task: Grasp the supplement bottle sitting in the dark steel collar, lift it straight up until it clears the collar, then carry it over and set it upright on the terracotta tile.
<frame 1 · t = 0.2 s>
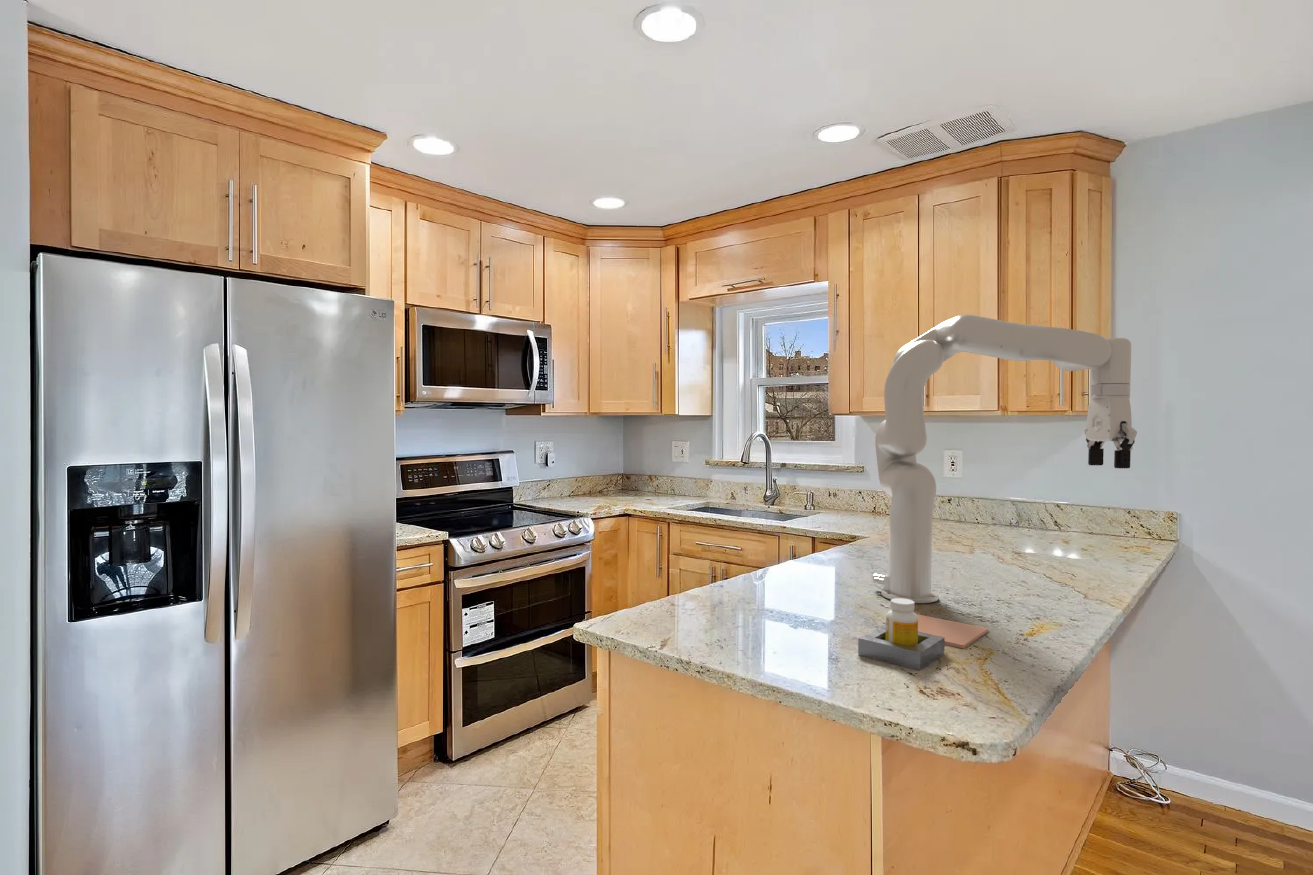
hand: (1108, 466, 159), 31 cm above the counter, tool pointing down, fingers open, 9 cm apart
supplement bottle: (901, 655, 122), resting in collar
collar: (901, 654, 122), on the counter
tile: (939, 631, 135), on the counter
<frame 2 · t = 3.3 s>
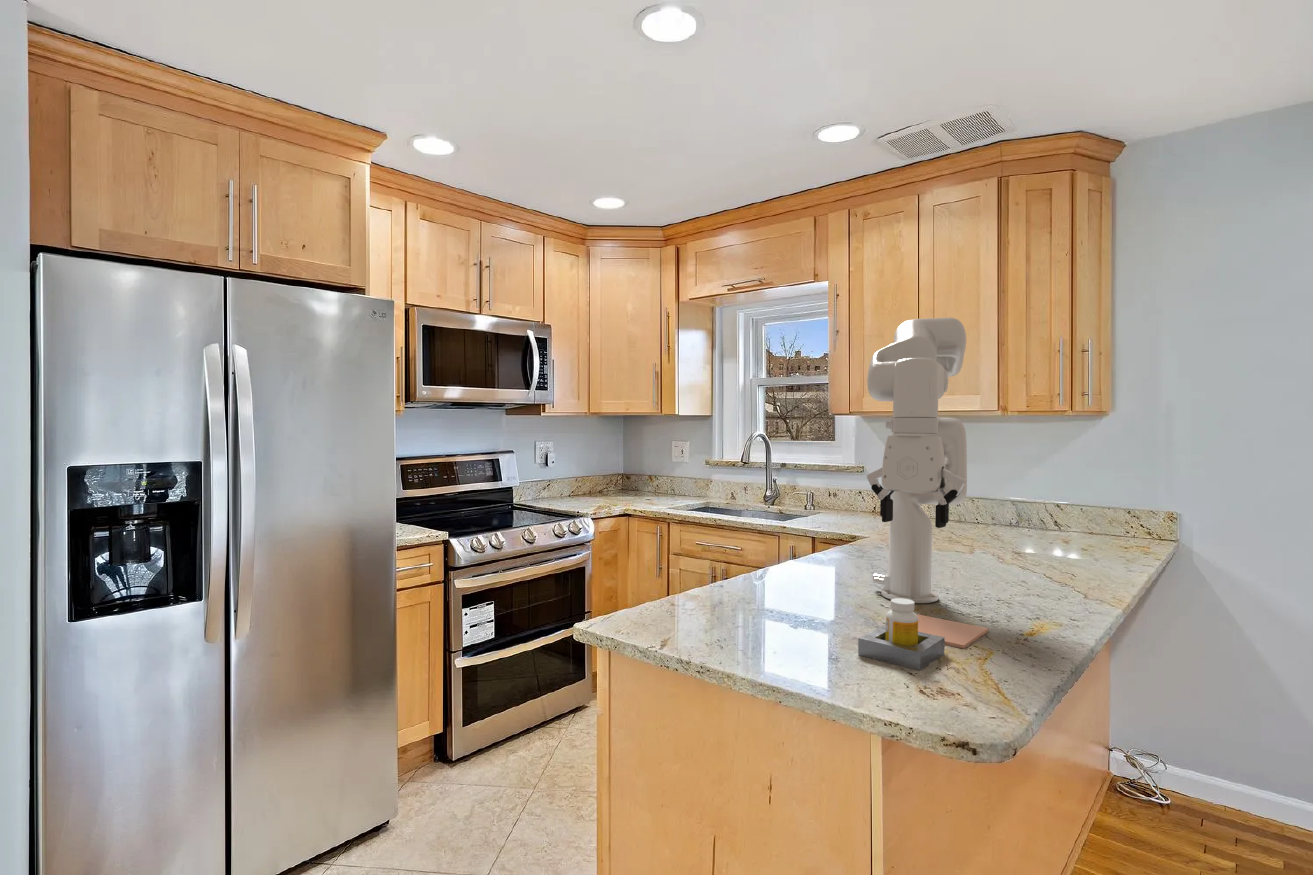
hand: (913, 524, 123), 23 cm above the counter, tool pointing down, fingers open, 9 cm apart
nothing on the counter moved.
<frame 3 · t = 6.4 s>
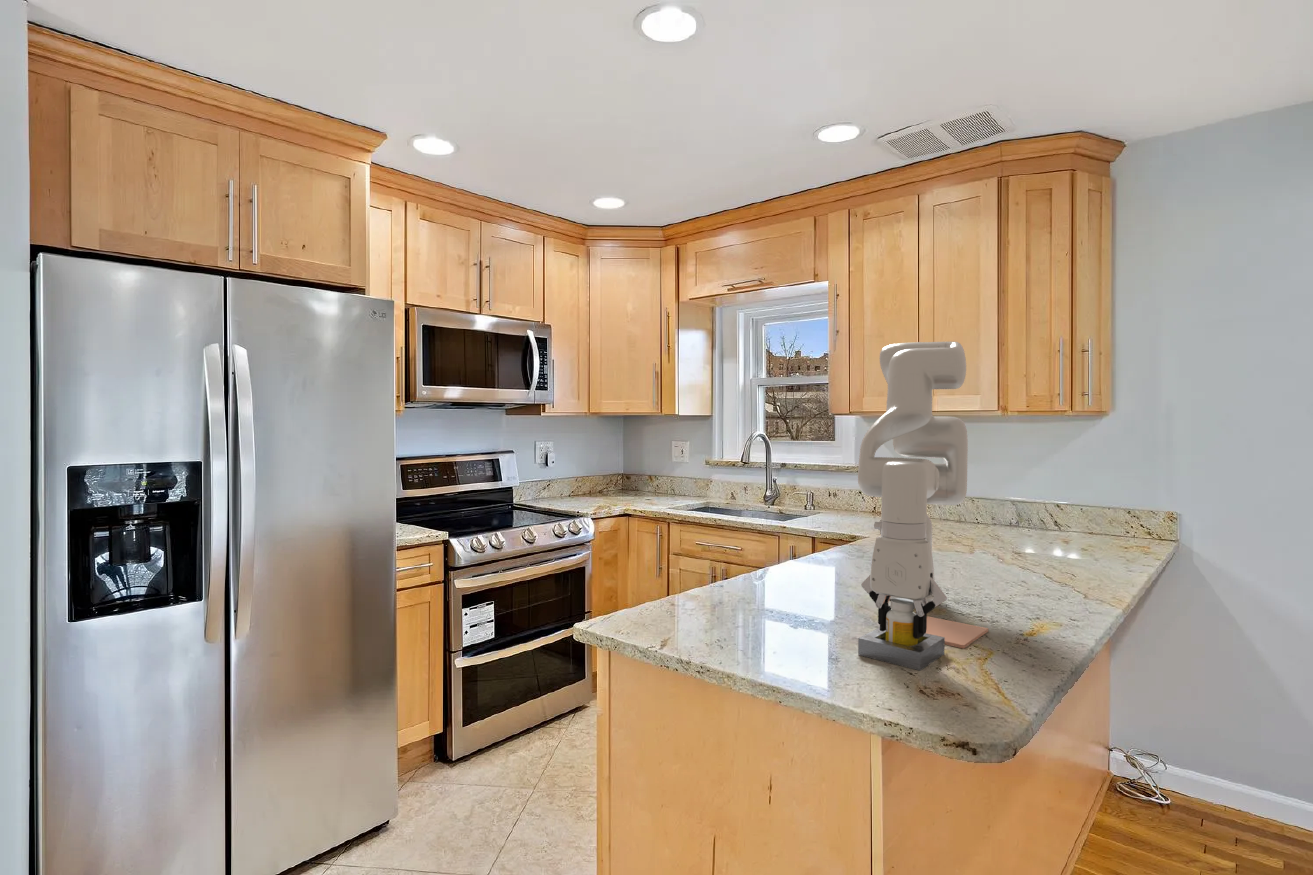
hand: (901, 632, 122), 4 cm above the counter, tool pointing down, fingers closed on supplement bottle, 5 cm apart
supplement bottle: (901, 655, 122), resting in collar, touching gripper
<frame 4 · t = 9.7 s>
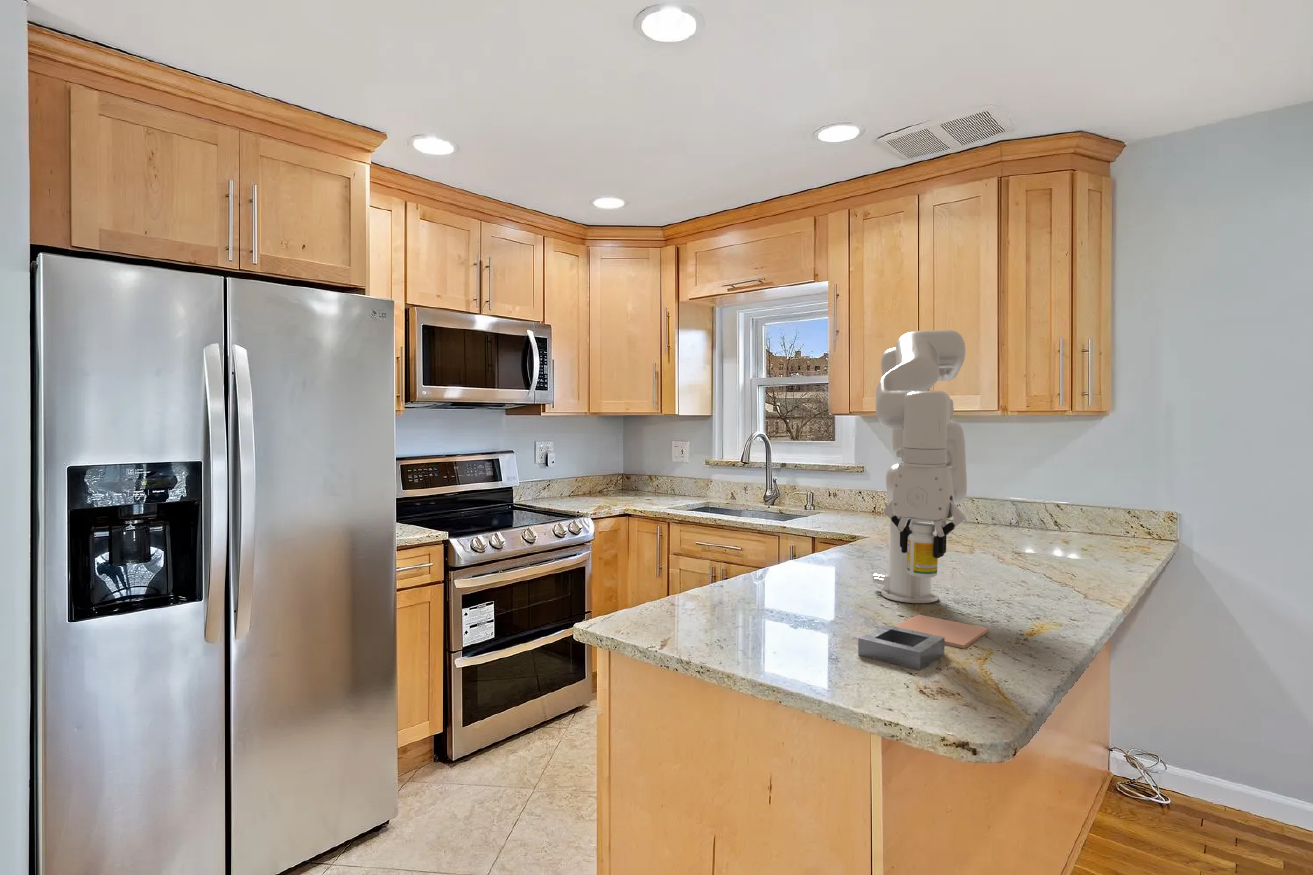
hand: (922, 553, 129), 17 cm above the counter, tool pointing down, fingers closed on supplement bottle, 5 cm apart
supplement bottle: (921, 575, 129), point 12 cm above the counter, touching gripper
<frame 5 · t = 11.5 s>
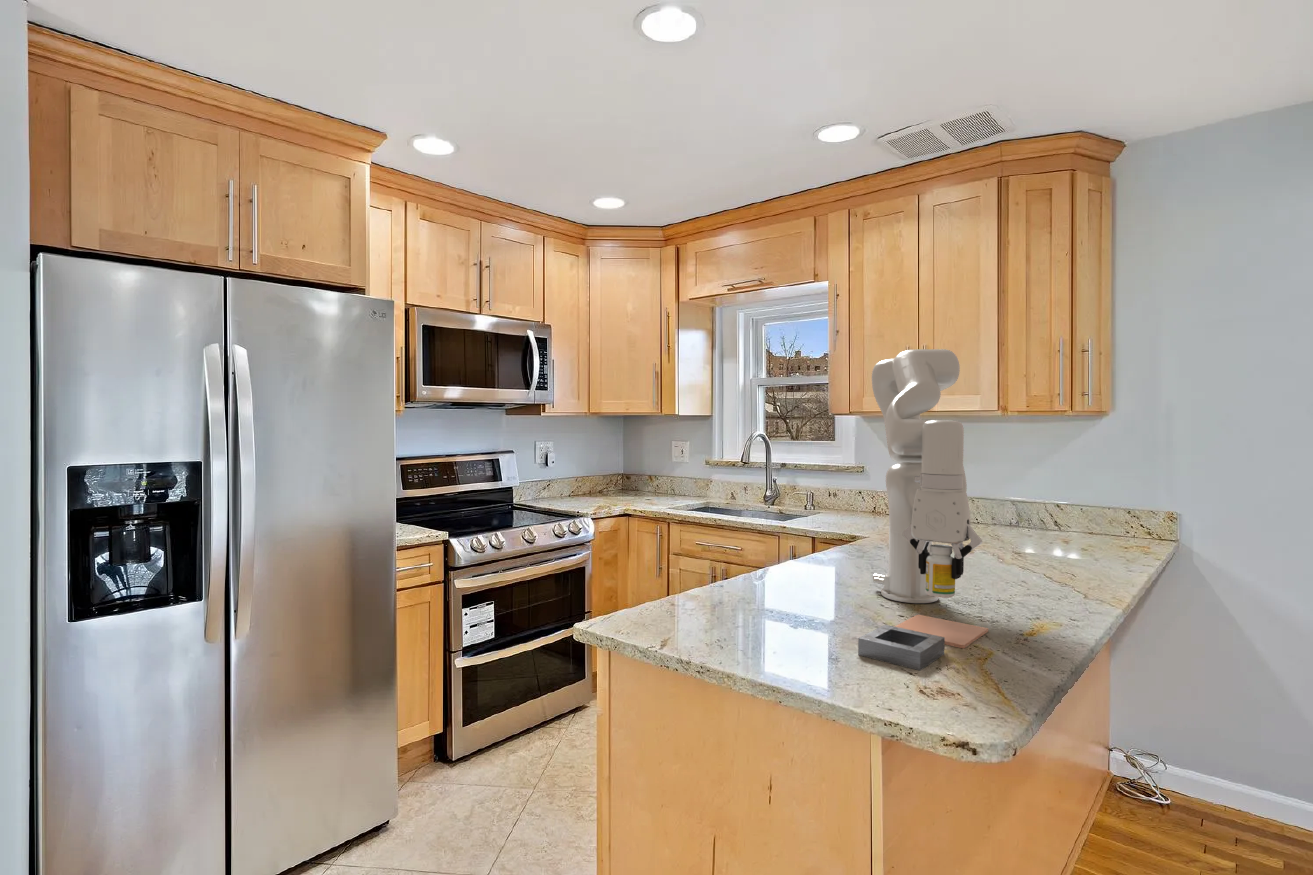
hand: (940, 574, 135), 11 cm above the counter, tool pointing down, fingers closed on supplement bottle, 5 cm apart
supplement bottle: (940, 595, 135), point 7 cm above the counter, touching gripper
when the fingers open (6 cm above the counter, at t = 12.9 s): supplement bottle drops 1 cm, resting on tile.
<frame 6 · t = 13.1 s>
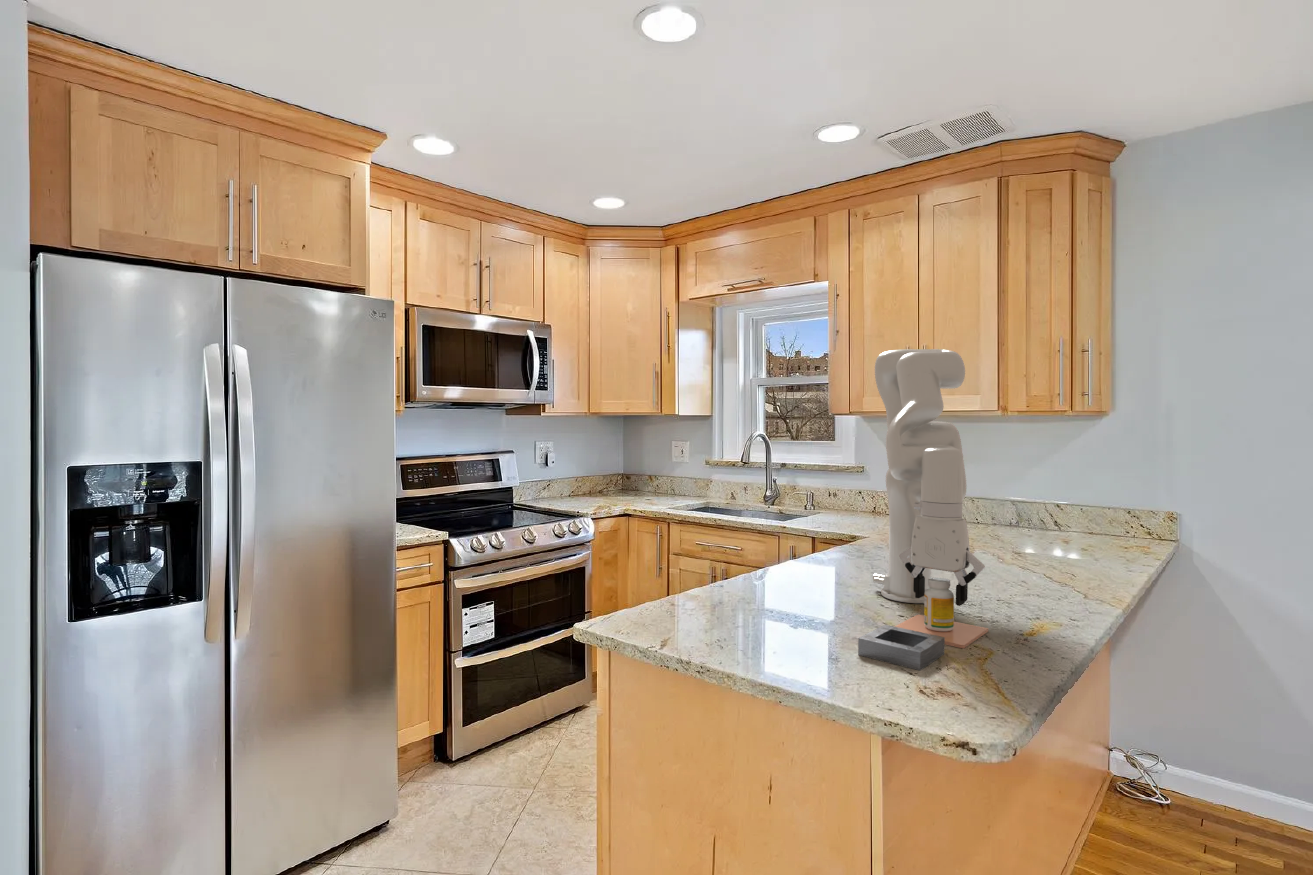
hand: (939, 599, 135), 6 cm above the counter, tool pointing down, fingers open, 7 cm apart
supplement bottle: (939, 629, 136), resting on tile
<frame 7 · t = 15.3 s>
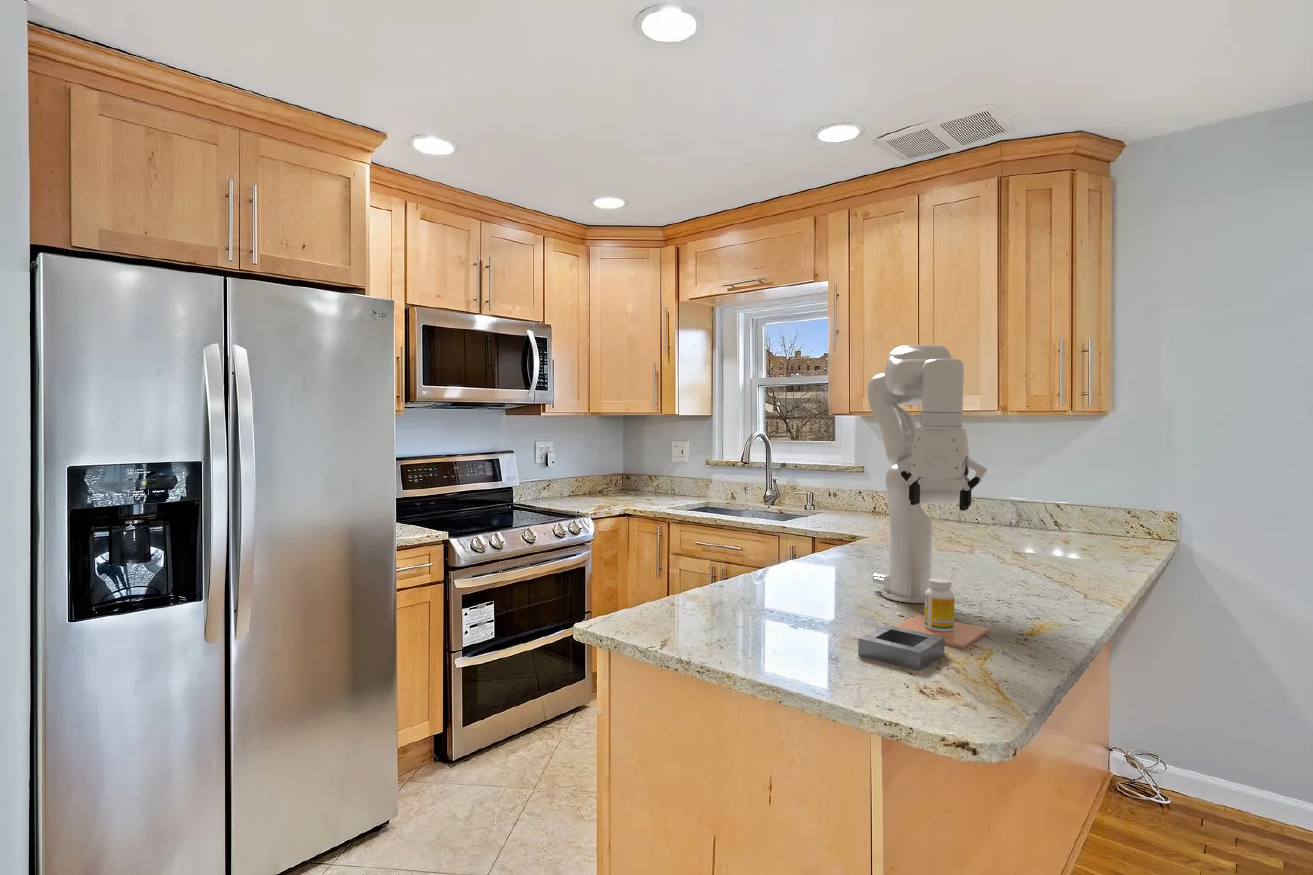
hand: (938, 506, 138), 24 cm above the counter, tool pointing down, fingers open, 9 cm apart
nothing on the counter moved.
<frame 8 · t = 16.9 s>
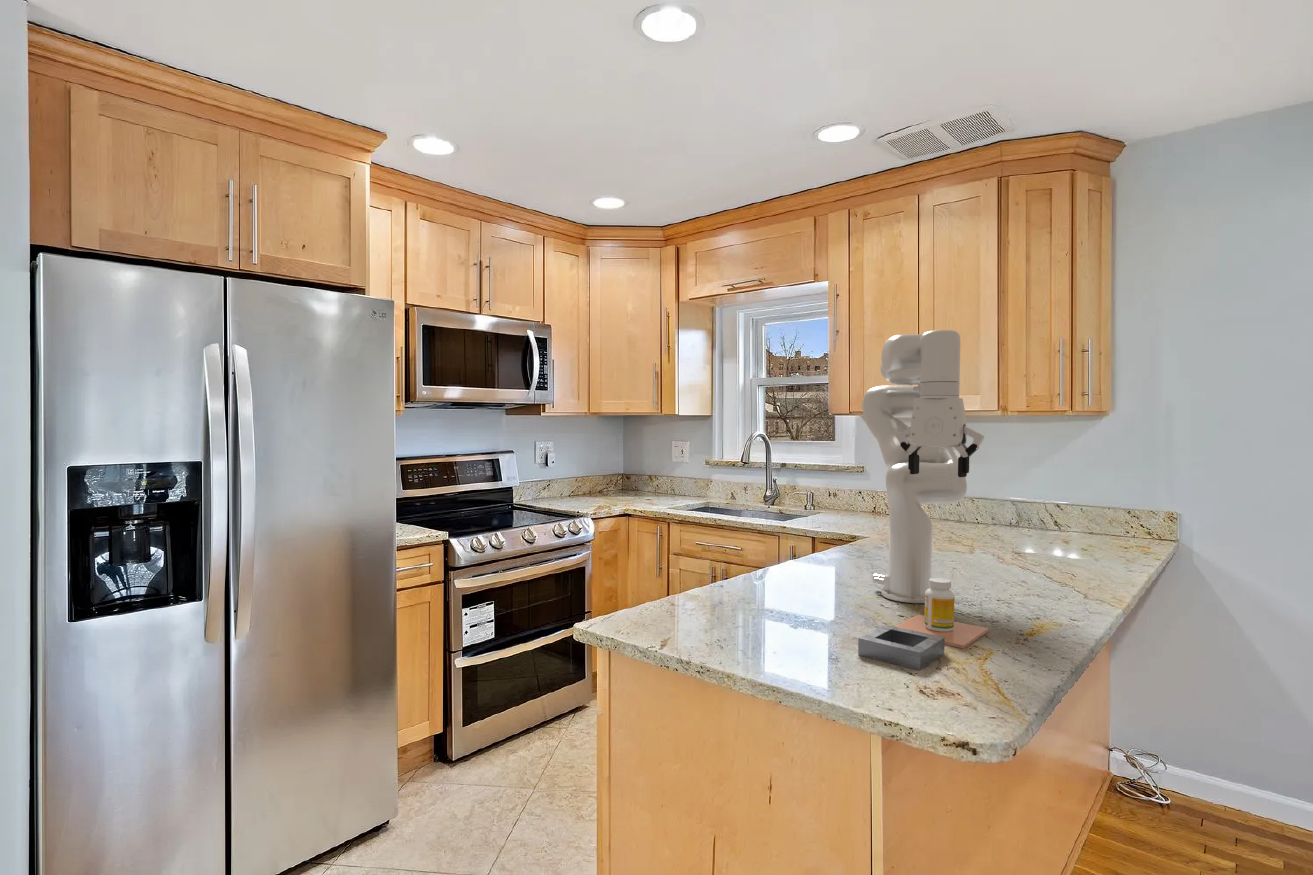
hand: (937, 475, 141), 30 cm above the counter, tool pointing down, fingers open, 9 cm apart
nothing on the counter moved.
at the end: supplement bottle inside the target area on the tile (0.2 cm from its centre), point 0.4 cm above the tile's base; supplement bottle tilted 0°; the gripper is holding nothing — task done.
